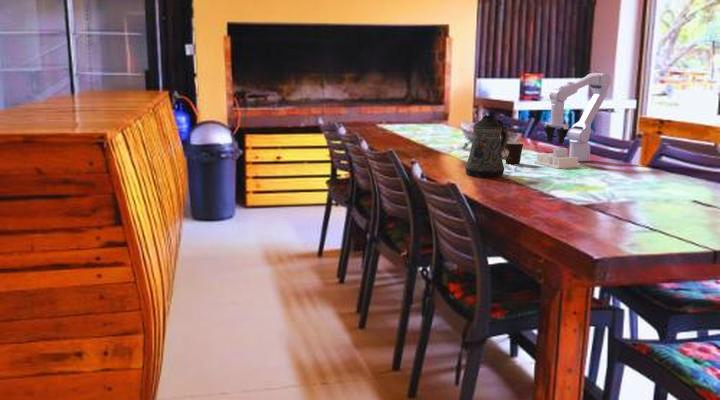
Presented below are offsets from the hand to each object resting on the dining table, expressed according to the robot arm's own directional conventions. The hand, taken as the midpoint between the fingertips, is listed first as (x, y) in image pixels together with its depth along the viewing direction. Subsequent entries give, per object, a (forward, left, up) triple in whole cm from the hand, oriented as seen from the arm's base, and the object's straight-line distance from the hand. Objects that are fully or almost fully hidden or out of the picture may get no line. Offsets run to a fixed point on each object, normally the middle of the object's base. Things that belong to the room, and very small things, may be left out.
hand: (555, 142), depth 323 cm
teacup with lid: (+16, -24, -10) cm, 30 cm away
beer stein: (+50, +15, -10) cm, 53 cm away
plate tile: (+5, +10, -8) cm, 14 cm away
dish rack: (+5, +8, -9) cm, 13 cm away
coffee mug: (+21, -5, -10) cm, 24 cm away
